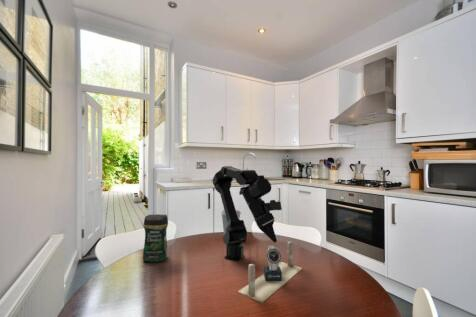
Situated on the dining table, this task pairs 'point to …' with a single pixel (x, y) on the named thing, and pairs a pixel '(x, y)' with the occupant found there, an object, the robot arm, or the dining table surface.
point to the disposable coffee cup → (226, 219)
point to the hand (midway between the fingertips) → (274, 240)
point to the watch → (273, 265)
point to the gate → (265, 289)
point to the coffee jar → (155, 238)
